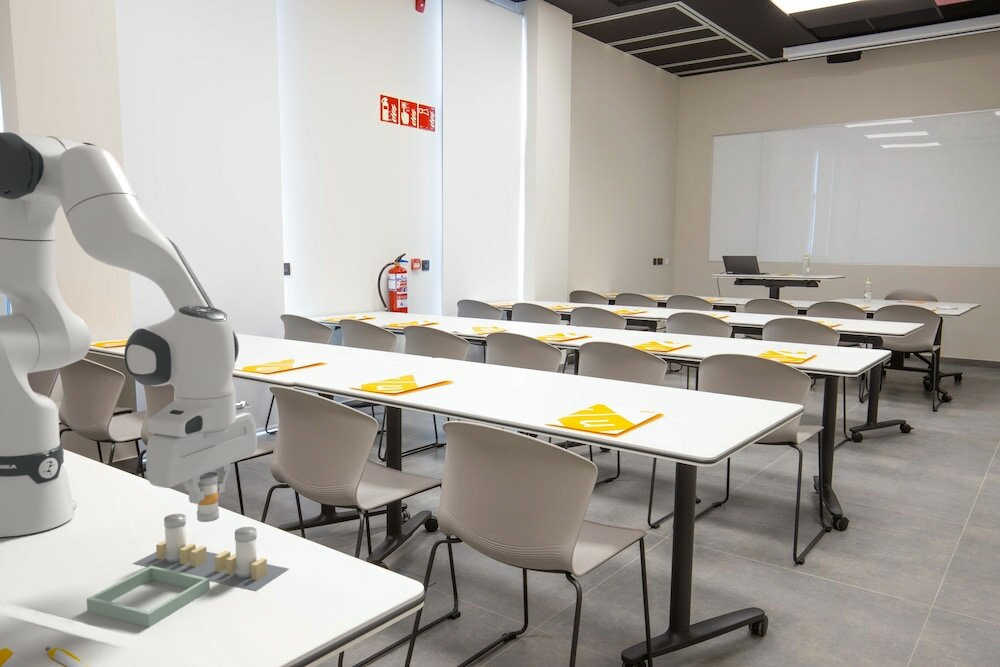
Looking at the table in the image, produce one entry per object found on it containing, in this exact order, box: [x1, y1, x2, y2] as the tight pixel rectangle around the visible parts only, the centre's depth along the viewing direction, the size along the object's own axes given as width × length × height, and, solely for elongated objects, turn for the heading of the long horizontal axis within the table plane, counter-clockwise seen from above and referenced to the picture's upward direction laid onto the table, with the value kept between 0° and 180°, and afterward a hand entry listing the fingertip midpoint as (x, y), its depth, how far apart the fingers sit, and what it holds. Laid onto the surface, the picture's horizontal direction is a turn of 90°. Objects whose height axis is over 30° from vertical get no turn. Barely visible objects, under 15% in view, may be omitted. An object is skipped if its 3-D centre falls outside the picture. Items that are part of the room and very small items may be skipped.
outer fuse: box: [234, 526, 258, 578], centre depth 112 cm, size 3×3×7 cm
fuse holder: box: [132, 540, 290, 592], centre depth 114 cm, size 24×8×4 cm, turn 70°
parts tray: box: [86, 566, 211, 628], centre depth 103 cm, size 11×11×3 cm
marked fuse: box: [196, 471, 220, 523], centre depth 113 cm, size 3×3×7 cm
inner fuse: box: [163, 513, 187, 563], centre depth 116 cm, size 3×3×7 cm
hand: (207, 497), depth 113 cm, fingers closed on marked fuse, 3 cm apart
